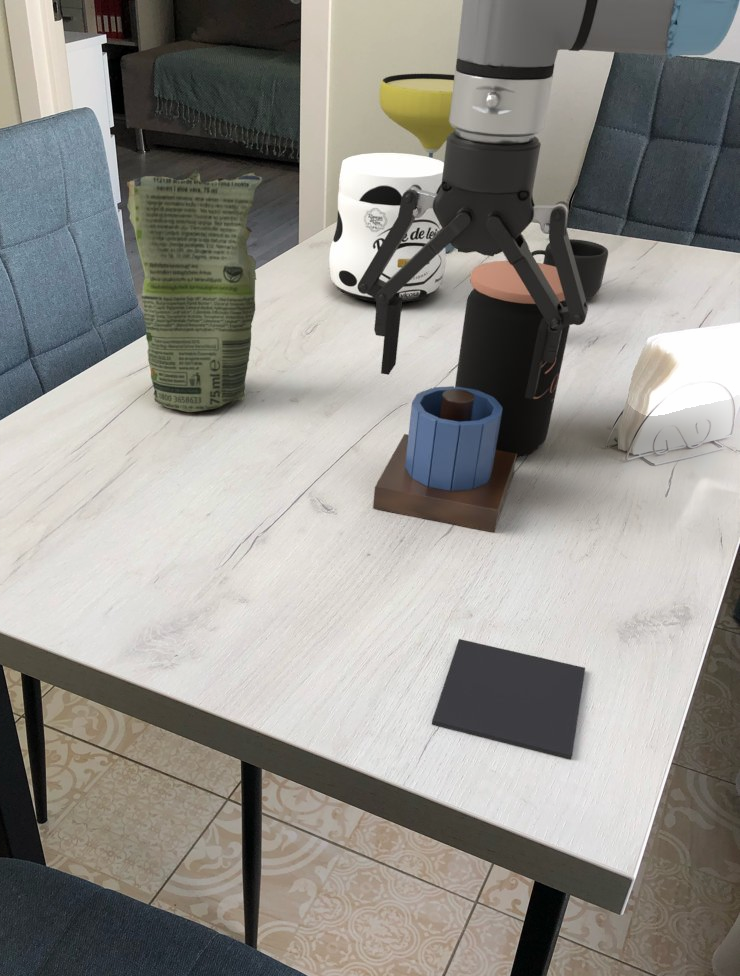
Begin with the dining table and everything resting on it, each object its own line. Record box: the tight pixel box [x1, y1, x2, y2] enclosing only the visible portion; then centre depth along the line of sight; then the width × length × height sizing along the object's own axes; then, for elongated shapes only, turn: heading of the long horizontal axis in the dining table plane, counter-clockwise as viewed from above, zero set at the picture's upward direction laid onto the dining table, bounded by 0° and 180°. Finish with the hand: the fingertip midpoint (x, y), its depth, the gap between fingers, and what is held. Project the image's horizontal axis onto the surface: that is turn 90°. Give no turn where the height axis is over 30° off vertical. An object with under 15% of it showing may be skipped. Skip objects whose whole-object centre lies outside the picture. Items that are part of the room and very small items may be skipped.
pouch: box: [126, 169, 263, 413], centre depth 105 cm, size 11×12×25 cm
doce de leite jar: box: [328, 152, 447, 303], centre depth 137 cm, size 17×17×18 cm
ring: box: [405, 385, 502, 491], centre depth 92 cm, size 8×8×7 cm
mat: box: [431, 638, 586, 760], centre depth 71 cm, size 10×10×1 cm
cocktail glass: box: [378, 73, 455, 254], centre depth 154 cm, size 18×18×25 cm
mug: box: [530, 238, 609, 300], centre depth 141 cm, size 12×9×7 cm
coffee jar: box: [454, 260, 571, 459], centre depth 99 cm, size 11×11×18 cm
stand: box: [372, 389, 518, 533], centre depth 92 cm, size 12×12×10 cm
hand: (458, 380), depth 88 cm, fingers open, 13 cm apart
